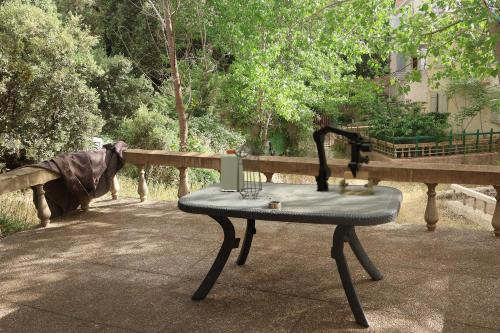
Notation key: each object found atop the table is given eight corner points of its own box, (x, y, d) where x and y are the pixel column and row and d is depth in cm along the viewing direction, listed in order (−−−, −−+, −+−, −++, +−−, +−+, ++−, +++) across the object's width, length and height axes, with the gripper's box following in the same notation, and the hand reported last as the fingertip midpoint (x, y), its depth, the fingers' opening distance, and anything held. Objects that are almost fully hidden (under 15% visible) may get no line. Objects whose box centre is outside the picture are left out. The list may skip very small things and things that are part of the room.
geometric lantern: (233, 199, 287) (230, 143, 284) (244, 195, 301) (241, 141, 298) (256, 200, 280) (253, 142, 277) (266, 195, 295) (264, 141, 291)
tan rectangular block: (343, 179, 287) (343, 172, 287) (345, 177, 292) (345, 171, 292) (366, 179, 281) (366, 173, 281) (368, 178, 287) (368, 171, 286)
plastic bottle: (240, 192, 310) (238, 150, 306) (218, 192, 314) (216, 151, 310) (246, 188, 324) (244, 148, 320) (226, 188, 328) (224, 149, 325)
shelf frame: (339, 194, 286) (339, 181, 285) (343, 190, 297) (343, 178, 296) (369, 195, 279) (369, 182, 278) (372, 191, 290) (372, 179, 289)
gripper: (366, 153, 273) (366, 179, 275) (371, 150, 290) (371, 174, 292) (347, 153, 278) (347, 179, 280) (353, 150, 294) (353, 174, 296)
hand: (355, 176), depth 287 cm, fingers closed on tan rectangular block, 6 cm apart
